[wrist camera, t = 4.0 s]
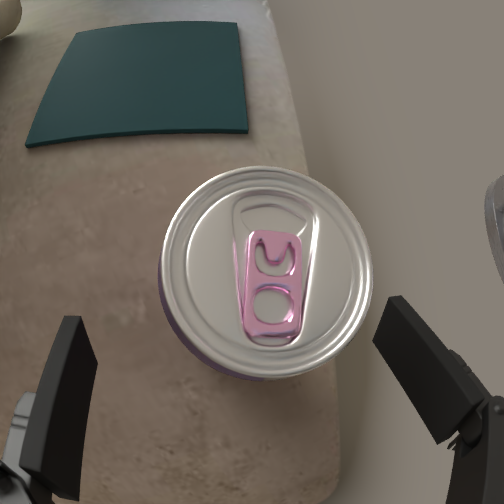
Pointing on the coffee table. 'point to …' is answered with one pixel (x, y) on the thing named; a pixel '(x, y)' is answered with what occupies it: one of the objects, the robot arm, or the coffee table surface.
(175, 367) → the coffee table surface
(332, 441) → the coffee table surface
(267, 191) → the beverage can
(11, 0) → the vase
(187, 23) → the mat
